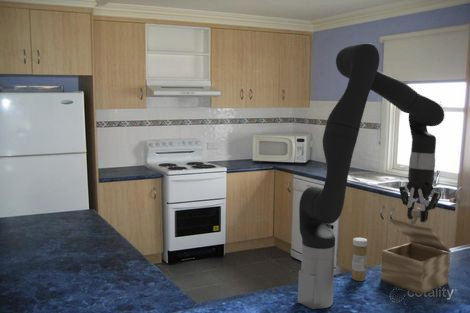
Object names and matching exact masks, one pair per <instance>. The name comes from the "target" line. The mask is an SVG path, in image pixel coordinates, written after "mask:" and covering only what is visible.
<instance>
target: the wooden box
mask: <svg viewBox="0 0 470 313" xmlns="http://www.w3.org/2000/svg"><path fill="white" fill-rule="evenodd" d="M381 253H382V254H381V271H380V275H381V276H380V281H381V282H384V283H387V284H389V285H392V286H395V287H398V288H401V289H404V290H406V291H409V292H411V293H415V294H417V295H423V294H425V293H427V292H430V291H433V290H435V289H437V288H440V287H442V286H444V285H447V284H449V276H450V274H449V273H450V262H451V261H450V260H451V253H449V252H445V251H442V250H438V249H434V248H430V247H426V246H422V245H419V244H415V243H412V242H408V243H404V244H401V245H397V246H394V247H390V248H387V249H384V250H382V252H381Z"/></svg>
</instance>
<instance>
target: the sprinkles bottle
mask: <svg viewBox="0 0 470 313" xmlns="http://www.w3.org/2000/svg"><path fill="white" fill-rule="evenodd" d="M352 246H353V248H352V262H351V263H352V264H351V266H352V267H351V268H352V271H351V274H352V275H351V279H352V280H354V281H357V282H363V281H365V280H366V279H367V278H366V271H367V255H368V254H367V249H368V248H367V247H368V239H367V238H366V237H365V238H364V237H353V239H352Z"/></svg>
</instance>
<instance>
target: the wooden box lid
mask: <svg viewBox="0 0 470 313" xmlns="http://www.w3.org/2000/svg"><path fill="white" fill-rule="evenodd" d="M421 211H422V207H421V208H420V207H416V206H415V207H414V209H413V210H412V212H411V214H412V216H413V218H412V220H410V222H406V221H402V220H398V219H395V218H390V220H389V221H390V222H391V223H392V225H394V226H395V227H396V228H397V229H398V230H399V231H400V233H402V234H403V235H404V236H405V238H407V239H408V241H409V242H410V243H416V244H420V245H423V246H427V247H431V248H433V249H437V250H441V251H444V252H448V253H450V254H451V252H452V251H451V249H450V248H449V247H448V246H447V245H446V243H444V242H443V241H442V239H441V238H440V237H439V236H438V235H437V234H436V232H435V231H434V230H433V229H432V228H430V227H428V226H424V225H419V224H416V223H417V221H418V220H420V219H421Z"/></svg>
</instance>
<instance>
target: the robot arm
mask: <svg viewBox="0 0 470 313" xmlns="http://www.w3.org/2000/svg"><path fill="white" fill-rule="evenodd" d="M335 64H336V69H337V70H338V72H339V73H340V74H341V75H342V76H343V77H345V78H347V79H348V82H347V86H346V88H345V91H344V92H343V94H342V96H341V97H340V99H339V100H338V101H337V103H336V105H335V106H334V107H333V108H332V110H331V112H330V113H329V115H328V118H327V120H326V125H325V128H324V132H323V136H322V150H323V154H324V159H325V163H326V173H325V174H326V175H325V181H324V184H323V188H322V187H318V186H310V187H307V188H306V189H305V190H304V191H303V192H302V194H301V196H300V199H299V205H298V206H299V208H298V210H299V211H298V213H299V214H298V215H299V220H298V221H299V234H300V236H301V269H300V270H298V282H297V283H298V284H297V285H298V287H297V303H299V304H301V305H303V306H305V307H308V308H309V309H311V310H315V309H327V308H330V307H332V306H333V304H334V303H333V302H334V283H335V282H334V281H335V280H334V279H335V278H334V277H335V254H336V253H335V252H336V236H335V234H334V232H332V231H331V230H330V228H329V227H328V226H327V225H331V224H333V223H335V222H336V221H338V219H339V218H340V216H341V214H342V211H343V209H344V203H345V198H346V190H347V186H348V184H347V183H348V179H349V172H350V168H351V164H352V159H353V155H354V151H355V147H356V144H357V139H358V137H359V133H360V128H361V124H362V119H363V116H364V115H363V114H364V112H365V108H366V104H367V101H368V98H369V94H370V91H372V92H374V93H375V94H377V95H378V96H381V97H382V98H383V99H385V100H386V101H388V102H389V103H390V104H392V105H393V106H394V107H396V108H397V109H398V110H400V111H401V112H403V113H406V114H408V123H409V130H410V135H411V139H412V141H411V148H410V150H411V151H410V157H409V163H408V164H409V165H408V175H407V180H408V183H407V184H406V185H405V186H404V185H403V186H399V187H398V189H399V193H400V198H401V201H402V204H403V205H405V206H406V207H407V215H406V216H407V218H408V220H410V221H411V220H412V218H413V216H412V214H411V212H412V210H413V209H414V208H416V204H417V201H418V200H419V202H420V204H421V209H422V211H421V218H420V219H419V221H420V223H426V222H427V221H428V219H429V211H431V210H435V209H436V208H437V205H438V203H439V200H440V199H441V197H442V192H440V191H439V192H438V191H437V190H435V189H434V186H433V184H434V180H435V179H434V178H435V167H436V149H437V148H436V147H437V145H436V144H437V138H436V135H434V134H431V133H429V131H428V128H427V127H437V126H439V125H441V123H443V121H444V119H445V111H444V109H443V107H442V106H441V105H440V104H439V103H437V102H436V101H434V100H433V99H430V98H429V97H426V96H424V95H422V94H420V93H418V91H416V90H414V89H413V88H412V87H411V86H410V85H409V84H406V83H405V82H404V81H402V80H400V79H398V78H395V77H393V76H391V75H388V74H386V73H384V72H382V71H379V70H378V69H379V66H380V52H379V49H378V48H377V46H376V45H374V44H373V43H370V42H368V43H367V42H364V43H363V42H362V43H358V44H353V45H350V46H345V47H343V48H342V49H341V50H339V52H338V53H337V55H336V58H335ZM430 196H431V199H430Z"/></svg>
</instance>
